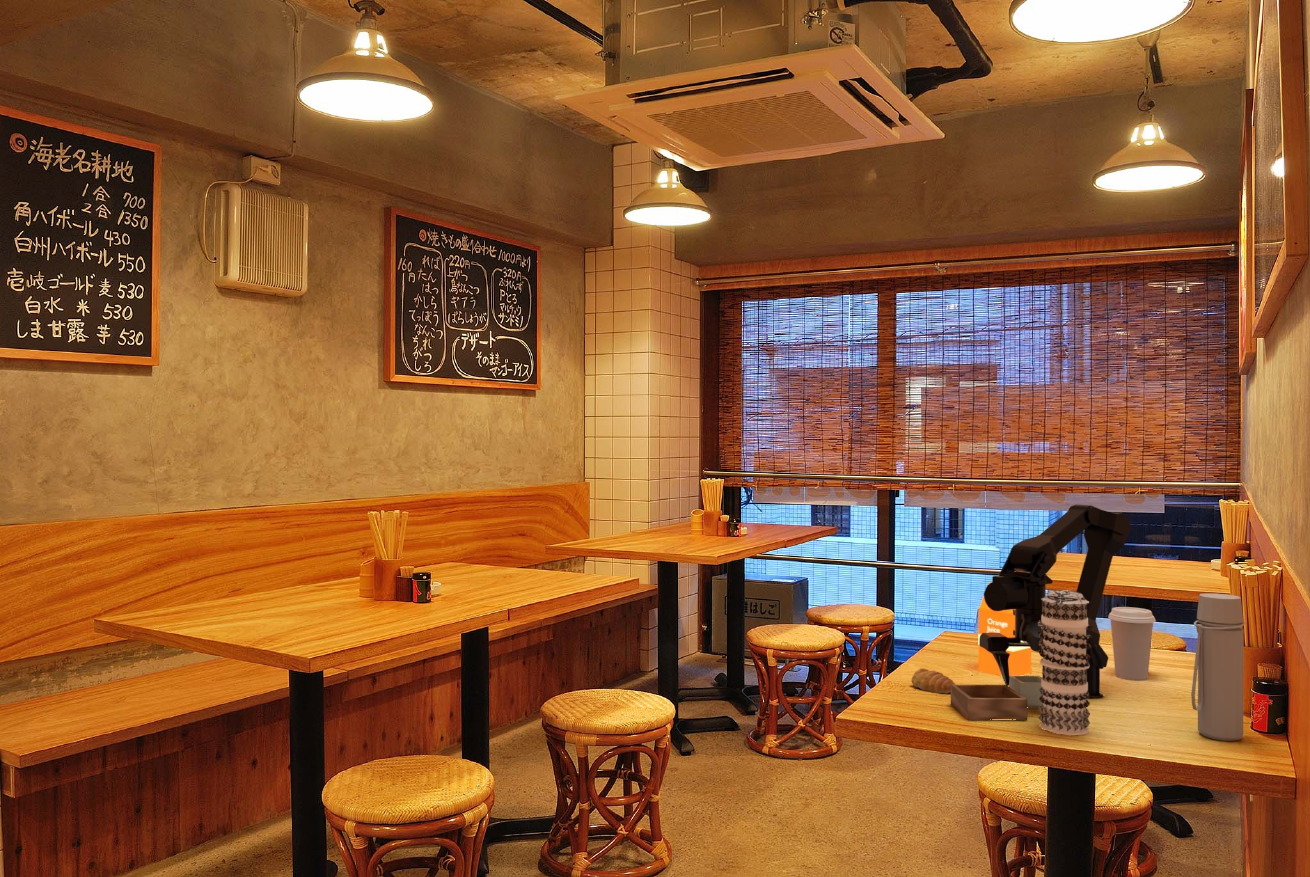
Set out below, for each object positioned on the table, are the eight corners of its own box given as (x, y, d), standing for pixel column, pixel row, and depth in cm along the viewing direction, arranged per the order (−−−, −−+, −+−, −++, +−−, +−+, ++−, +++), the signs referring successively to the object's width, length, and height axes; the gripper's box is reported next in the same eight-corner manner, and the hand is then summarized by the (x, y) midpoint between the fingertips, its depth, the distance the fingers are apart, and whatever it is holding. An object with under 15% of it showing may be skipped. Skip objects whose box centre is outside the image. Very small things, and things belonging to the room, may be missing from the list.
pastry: (964, 692, 203) (964, 674, 203) (942, 697, 199) (942, 679, 199) (929, 683, 211) (929, 665, 211) (907, 687, 207) (907, 669, 207)
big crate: (1005, 704, 193) (1005, 684, 193) (1027, 720, 182) (1027, 699, 182) (950, 704, 193) (950, 684, 193) (969, 720, 182) (969, 699, 182)
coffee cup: (1109, 679, 214) (1109, 611, 214) (1106, 670, 223) (1106, 605, 223) (1157, 683, 211) (1157, 615, 211) (1153, 674, 220) (1153, 608, 220)
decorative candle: (1046, 718, 184) (1046, 586, 184) (1098, 727, 178) (1098, 591, 178) (1029, 729, 177) (1030, 592, 177) (1083, 739, 171) (1083, 597, 171)
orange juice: (1013, 678, 215) (1013, 588, 215) (977, 671, 222) (978, 583, 222) (1031, 673, 220) (1032, 585, 220) (996, 666, 227) (997, 580, 227)
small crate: (1038, 700, 197) (1038, 675, 197) (1050, 708, 191) (1050, 682, 191) (1009, 700, 197) (1009, 675, 197) (1020, 708, 191) (1020, 682, 191)
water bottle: (1222, 728, 177) (1222, 592, 178) (1255, 742, 170) (1255, 599, 170) (1177, 731, 176) (1177, 593, 176) (1208, 744, 168) (1209, 600, 168)
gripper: (998, 614, 186) (998, 695, 186) (1095, 614, 186) (1095, 695, 186) (978, 604, 197) (978, 681, 197) (1070, 604, 197) (1069, 681, 197)
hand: (1030, 685), depth 194 cm, fingers open, 9 cm apart
